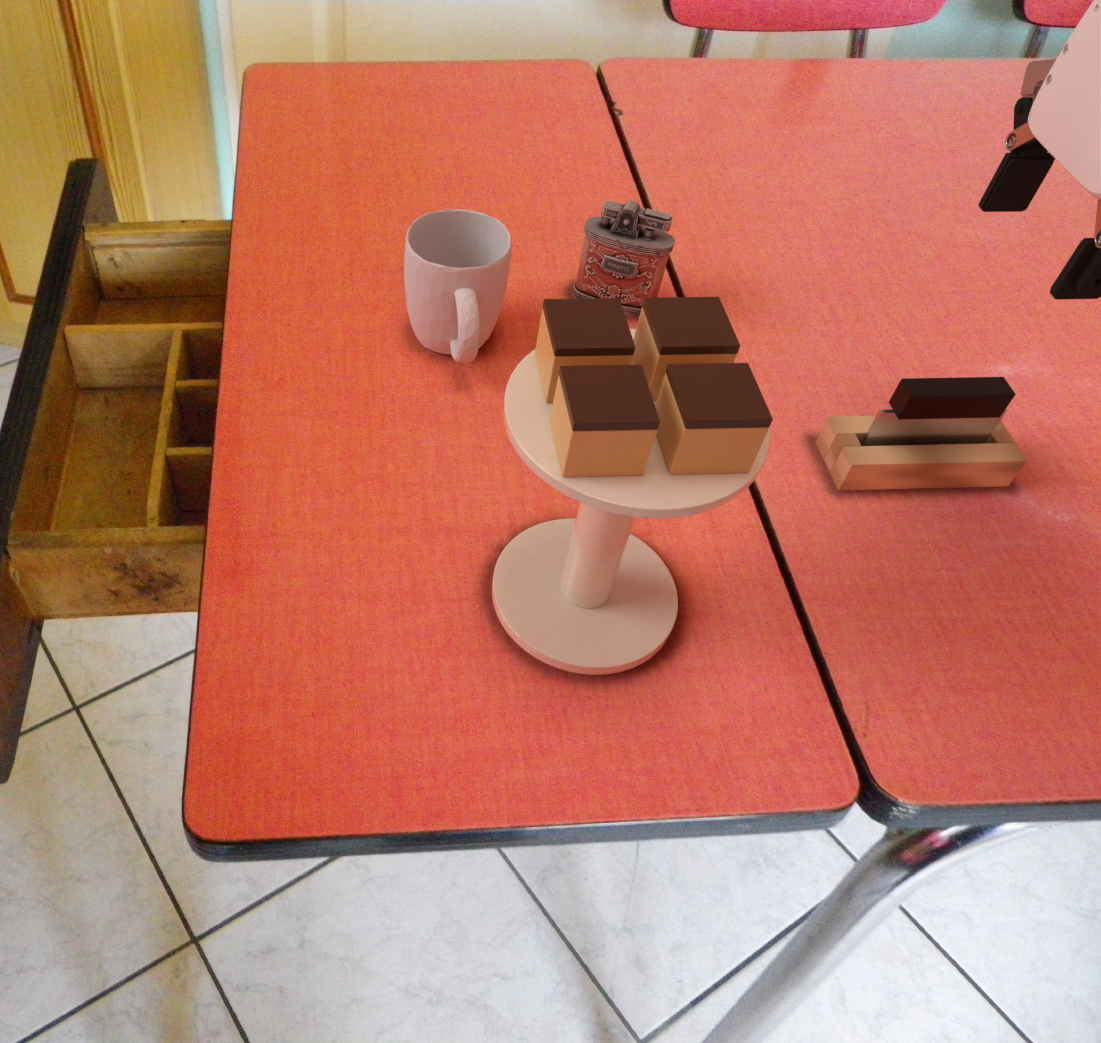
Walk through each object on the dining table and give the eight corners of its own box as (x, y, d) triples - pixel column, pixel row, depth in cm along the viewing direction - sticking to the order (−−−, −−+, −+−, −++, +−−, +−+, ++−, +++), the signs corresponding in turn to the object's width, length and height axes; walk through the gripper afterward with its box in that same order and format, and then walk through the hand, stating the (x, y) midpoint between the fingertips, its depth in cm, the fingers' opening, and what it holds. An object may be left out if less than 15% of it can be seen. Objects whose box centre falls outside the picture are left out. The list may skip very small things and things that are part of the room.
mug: (397, 305, 89) (399, 209, 82) (491, 301, 90) (502, 205, 82) (412, 397, 81) (417, 300, 73) (516, 391, 82) (531, 295, 74)
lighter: (567, 300, 90) (585, 205, 83) (577, 280, 92) (595, 186, 85) (651, 322, 89) (677, 227, 81) (659, 302, 91) (685, 207, 83)
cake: (700, 350, 58) (719, 296, 55) (749, 473, 51) (773, 419, 48) (534, 353, 57) (543, 298, 54) (562, 477, 51) (574, 423, 48)
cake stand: (724, 581, 69) (811, 395, 55) (626, 729, 61) (699, 555, 47) (547, 487, 75) (586, 297, 61) (436, 611, 67) (452, 425, 53)
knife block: (978, 439, 80) (996, 412, 77) (1008, 486, 76) (1027, 460, 74) (815, 442, 79) (828, 415, 77) (837, 490, 75) (852, 464, 73)
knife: (963, 454, 78) (1016, 376, 72) (974, 471, 77) (1029, 394, 71) (845, 456, 78) (888, 378, 71) (854, 474, 77) (898, 396, 70)
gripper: (1403, 35, 44) (1166, 334, 57) (1181, -94, 55) (1026, 180, 68) (1248, 35, 43) (1045, 336, 56) (1057, -96, 54) (924, 181, 67)
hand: (1035, 250), depth 62 cm, fingers open, 9 cm apart
